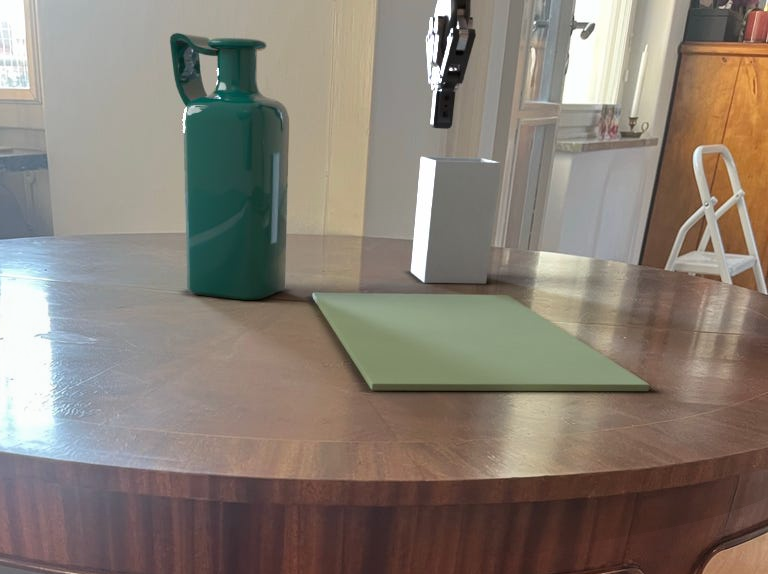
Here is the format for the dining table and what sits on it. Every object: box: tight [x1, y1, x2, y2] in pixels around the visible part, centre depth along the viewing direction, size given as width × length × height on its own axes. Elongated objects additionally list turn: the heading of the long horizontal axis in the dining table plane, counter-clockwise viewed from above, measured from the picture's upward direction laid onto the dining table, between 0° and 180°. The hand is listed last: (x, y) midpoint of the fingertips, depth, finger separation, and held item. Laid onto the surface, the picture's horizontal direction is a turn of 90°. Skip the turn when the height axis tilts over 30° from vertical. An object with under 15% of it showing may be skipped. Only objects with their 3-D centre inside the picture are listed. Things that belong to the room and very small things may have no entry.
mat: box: [312, 292, 651, 392], centre depth 81 cm, size 20×34×1 cm, turn 6°
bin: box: [410, 156, 502, 285], centre depth 105 cm, size 7×7×12 cm
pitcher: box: [169, 32, 290, 301], centre depth 91 cm, size 10×8×22 cm
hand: (440, 128), depth 109 cm, fingers closed
